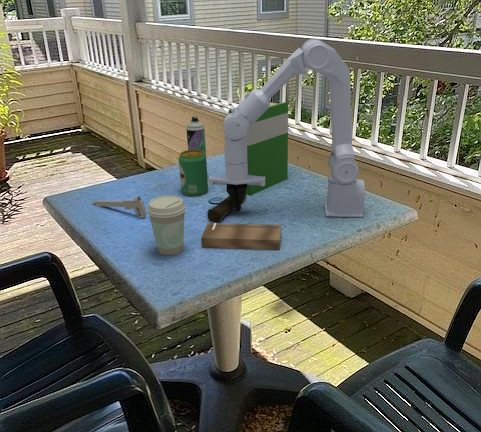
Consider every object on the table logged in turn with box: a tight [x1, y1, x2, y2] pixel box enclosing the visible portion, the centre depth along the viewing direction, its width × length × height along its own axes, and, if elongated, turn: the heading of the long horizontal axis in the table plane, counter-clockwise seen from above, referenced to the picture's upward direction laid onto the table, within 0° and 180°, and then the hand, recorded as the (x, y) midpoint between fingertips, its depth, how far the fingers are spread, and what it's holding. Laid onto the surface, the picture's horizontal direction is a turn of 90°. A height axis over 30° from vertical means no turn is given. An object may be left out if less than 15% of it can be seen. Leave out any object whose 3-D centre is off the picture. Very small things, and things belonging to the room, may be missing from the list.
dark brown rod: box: [206, 192, 247, 223], centre depth 131 cm, size 19×4×5 cm, turn 151°
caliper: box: [91, 195, 147, 219], centre depth 132 cm, size 20×1×6 cm, turn 57°
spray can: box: [186, 115, 209, 180], centre depth 150 cm, size 6×6×20 cm
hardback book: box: [228, 99, 289, 197], centre depth 143 cm, size 18×7×24 cm, turn 137°
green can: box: [178, 149, 209, 197], centre depth 142 cm, size 8×8×12 cm
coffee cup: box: [146, 195, 187, 256], centre depth 109 cm, size 9×8×12 cm
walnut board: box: [200, 222, 282, 251], centre depth 114 cm, size 18×8×3 cm, turn 83°
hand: (238, 210), depth 128 cm, fingers closed
